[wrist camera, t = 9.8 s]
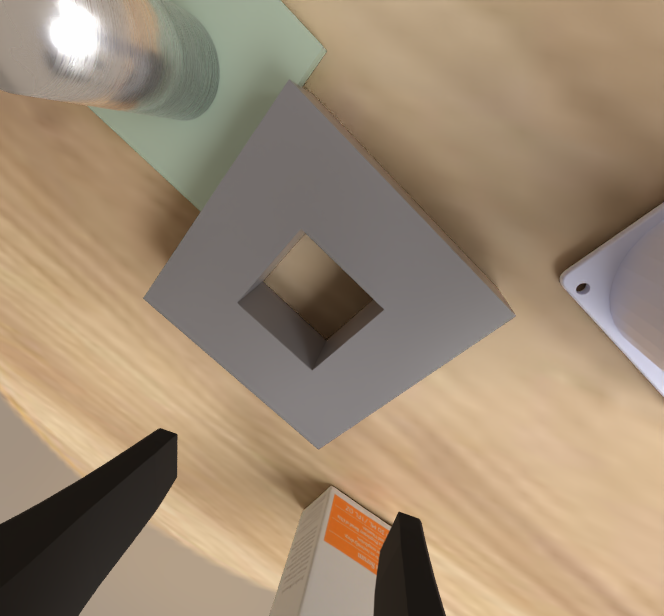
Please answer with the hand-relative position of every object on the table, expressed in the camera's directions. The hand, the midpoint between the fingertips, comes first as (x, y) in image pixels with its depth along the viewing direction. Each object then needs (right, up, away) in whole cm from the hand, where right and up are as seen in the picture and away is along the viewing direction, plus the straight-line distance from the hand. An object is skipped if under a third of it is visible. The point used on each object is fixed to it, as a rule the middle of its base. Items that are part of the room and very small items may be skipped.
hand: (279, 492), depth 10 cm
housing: (+1, +7, +7) cm, 10 cm away
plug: (-5, +16, +4) cm, 17 cm away
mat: (-5, +16, +4) cm, 18 cm away
